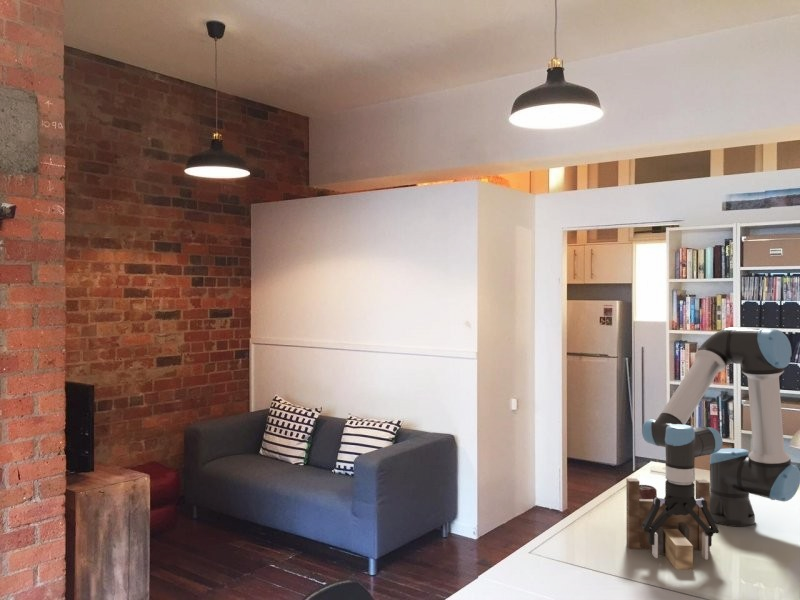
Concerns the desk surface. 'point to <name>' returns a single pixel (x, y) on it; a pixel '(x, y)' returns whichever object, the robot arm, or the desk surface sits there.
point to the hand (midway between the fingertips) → (679, 556)
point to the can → (647, 492)
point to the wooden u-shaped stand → (685, 523)
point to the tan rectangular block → (677, 548)
